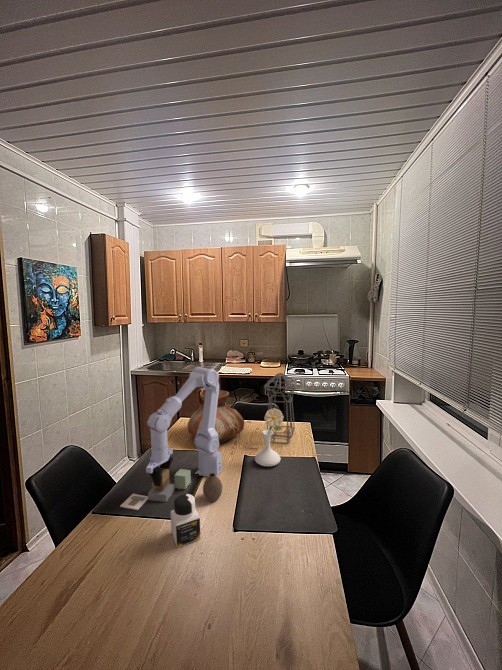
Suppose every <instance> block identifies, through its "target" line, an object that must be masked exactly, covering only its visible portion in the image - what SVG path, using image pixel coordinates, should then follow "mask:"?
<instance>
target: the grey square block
mask: <svg viewBox="0 0 502 670" xmlns="http://www.w3.org/2000/svg"><path fill="white" fill-rule="evenodd" d="M174 490H175V483H172V482H170V483H169V484H168V485H167V486H166V488H165V489H164V490H159V489H153V488H152V487H151V489H149V491H148V492H147V496H148V500H147V501H154V502H160V503H161V502H162V503H167V502H168V500H169V499H170V498H171V496H172V495H173V494H172V493H174V492H175V491H174ZM169 497H170V498H169Z"/></svg>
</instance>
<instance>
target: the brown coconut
mask: <svg viewBox="0 0 502 670" xmlns="http://www.w3.org/2000/svg"><path fill="white" fill-rule="evenodd" d="M202 485H203V486H202V494H203V496H204V498H205V499H206V500H207V501H209V502H216V501H217V500H218V499H220V497H221V495H222V492H223V484H222V481H221V479H220V478H219V477H218V476H216V474H215V473H211V474H209V476H207V478H206V479H205V480H204V481H203V484H202Z"/></svg>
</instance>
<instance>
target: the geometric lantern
mask: <svg viewBox="0 0 502 670" xmlns="http://www.w3.org/2000/svg"><path fill="white" fill-rule="evenodd" d="M282 379H283V381H282ZM296 382H297V381H296V380H295V379H293V378H291V377H289V376H287V374H284V373H282V372H277V374H275V375H273V376H272V377H271V378H270V379H267V382H266V383H265V384H264V385H263V387H264V389H266V392H267V398H268V402H267V411H268V410H270V409H273V408H275V409H276V403H285V408H286V409H285V410H286V425H285V426H284V425H279V426H280V427H281V428H286V429H287V432H281V431H280V432H279V431H276V430H274V428H273V427H272V426H269V425H267V424H266V427H267V428H266V430H270V429H271V427H272V429H271V431H273V433H274V434H272V435H271V438H272V442H273V444H274V443H275V444H283V442H279V441H276V440H284V438H286V442H285V444H290V442H291V438H292V437H293V436H294V432H295V429H296V428H295V417H294V416H295V415H294V405H293V403H294V402H293V397H294V394H295V390H296V384H297V383H296ZM271 383H273V384H274V386H271V385H270V384H271ZM278 383H279V384H278ZM282 384H285V386H282ZM272 388H273V390H272ZM276 389H277V390H276ZM290 389H291V392H290V394H289V392H288V390H290ZM284 392H286V394H287V396H288V400H287V399H286V396H285V395H284ZM272 393H273V395H272ZM277 394H281V395H277ZM276 397H282V398H284V401H279V400H276ZM273 398H274V400H273ZM273 403H274V404H273ZM288 403H289V404H288ZM273 405H274V407H273ZM288 405H289V410H288ZM288 411H289V413H288ZM288 414H289V415H288ZM288 417H289V418H288ZM268 428H269V429H268ZM290 430H291V431H290ZM281 434H286V435H281ZM279 437H283V438H279Z"/></svg>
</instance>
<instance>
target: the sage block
mask: <svg viewBox="0 0 502 670" xmlns="http://www.w3.org/2000/svg"><path fill="white" fill-rule="evenodd" d="M191 472H192V471H191V469H186V468H185V469H183V468H179V470H178V471H176V473H175V474H174V475H173V476H174V484H175V488H183V489H186V488H187V486H188V485H189V484H190V483H191V484H192V477H191V476H192V475H191ZM191 484H190V485H191ZM187 489H188V488H187ZM187 489H186V490H187Z"/></svg>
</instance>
